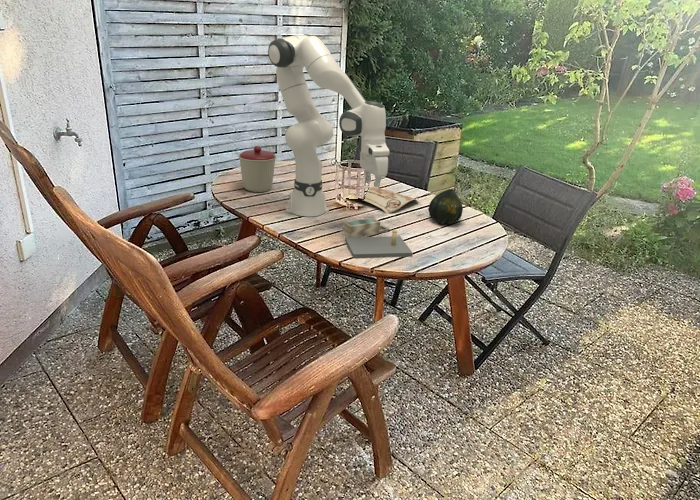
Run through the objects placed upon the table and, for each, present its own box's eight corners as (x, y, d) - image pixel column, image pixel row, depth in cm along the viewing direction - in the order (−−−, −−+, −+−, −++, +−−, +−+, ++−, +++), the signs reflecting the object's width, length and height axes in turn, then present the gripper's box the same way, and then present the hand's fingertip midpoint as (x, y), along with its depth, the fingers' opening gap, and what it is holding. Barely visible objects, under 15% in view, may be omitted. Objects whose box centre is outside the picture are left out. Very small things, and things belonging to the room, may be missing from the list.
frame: (349, 238, 205) (350, 226, 203) (342, 233, 209) (343, 221, 207) (389, 231, 215) (390, 219, 212) (381, 227, 219) (382, 215, 217)
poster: (423, 209, 255) (374, 192, 272) (426, 196, 253) (376, 180, 270) (390, 218, 234) (339, 199, 251) (393, 204, 232) (341, 186, 249)
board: (344, 240, 203) (345, 222, 200) (399, 239, 207) (401, 222, 204) (353, 258, 188) (354, 238, 185) (412, 256, 193) (414, 237, 190)
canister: (232, 186, 258) (231, 143, 250) (266, 182, 268) (266, 140, 260) (247, 196, 245) (247, 151, 237) (283, 192, 254) (283, 148, 246)
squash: (424, 213, 221) (451, 189, 218) (420, 203, 235) (446, 180, 232) (447, 236, 225) (474, 212, 221) (441, 225, 239) (467, 202, 235)
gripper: (356, 143, 203) (355, 178, 208) (374, 152, 185) (374, 190, 190) (371, 142, 205) (370, 177, 210) (391, 151, 187) (390, 189, 192)
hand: (372, 184), depth 200 cm, fingers open, 8 cm apart
